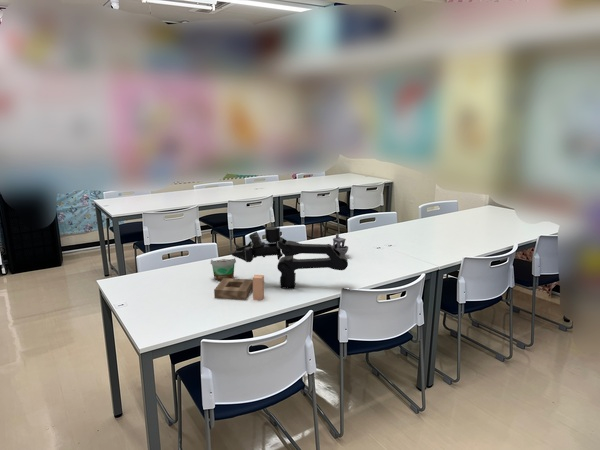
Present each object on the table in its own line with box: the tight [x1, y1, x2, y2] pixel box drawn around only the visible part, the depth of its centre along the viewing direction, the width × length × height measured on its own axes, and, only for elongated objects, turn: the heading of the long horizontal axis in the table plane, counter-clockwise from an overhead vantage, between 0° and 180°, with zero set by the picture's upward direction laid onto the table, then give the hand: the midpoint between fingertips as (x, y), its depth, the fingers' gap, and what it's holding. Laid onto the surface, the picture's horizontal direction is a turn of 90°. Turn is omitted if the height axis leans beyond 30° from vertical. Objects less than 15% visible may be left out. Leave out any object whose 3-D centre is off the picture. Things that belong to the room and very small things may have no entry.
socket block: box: [213, 278, 253, 301], centre depth 197 cm, size 14×14×4 cm
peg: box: [252, 274, 265, 301], centre depth 191 cm, size 4×4×10 cm
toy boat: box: [331, 233, 349, 256], centre depth 247 cm, size 15×8×13 cm, turn 42°
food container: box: [210, 257, 237, 282], centre depth 212 cm, size 12×6×10 cm, turn 105°
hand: (233, 251), depth 203 cm, fingers open, 9 cm apart
